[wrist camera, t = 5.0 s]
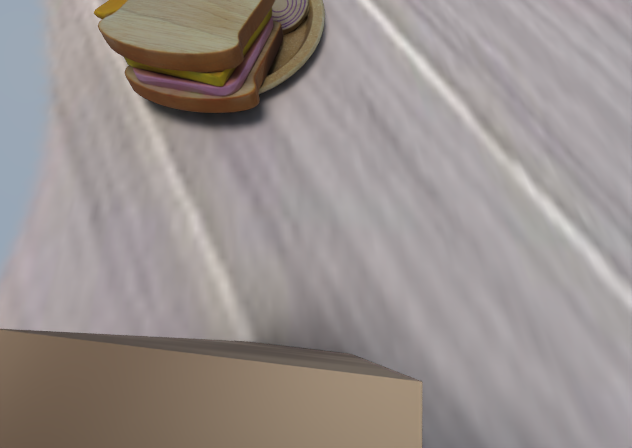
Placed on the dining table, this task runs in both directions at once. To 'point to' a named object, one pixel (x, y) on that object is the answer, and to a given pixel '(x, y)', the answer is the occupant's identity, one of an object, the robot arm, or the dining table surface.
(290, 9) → the toy sandwich meal
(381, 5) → the dining table surface
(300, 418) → the block
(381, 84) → the dining table surface
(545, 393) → the dining table surface
